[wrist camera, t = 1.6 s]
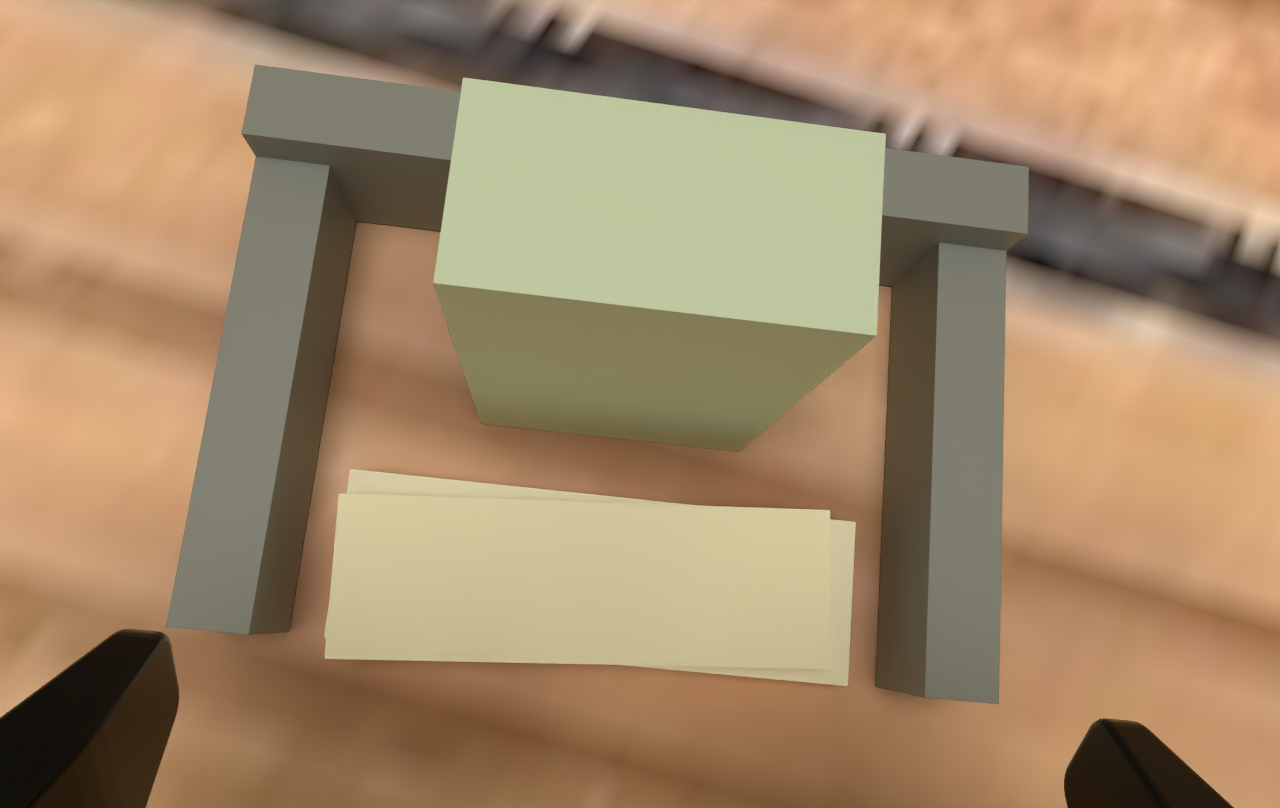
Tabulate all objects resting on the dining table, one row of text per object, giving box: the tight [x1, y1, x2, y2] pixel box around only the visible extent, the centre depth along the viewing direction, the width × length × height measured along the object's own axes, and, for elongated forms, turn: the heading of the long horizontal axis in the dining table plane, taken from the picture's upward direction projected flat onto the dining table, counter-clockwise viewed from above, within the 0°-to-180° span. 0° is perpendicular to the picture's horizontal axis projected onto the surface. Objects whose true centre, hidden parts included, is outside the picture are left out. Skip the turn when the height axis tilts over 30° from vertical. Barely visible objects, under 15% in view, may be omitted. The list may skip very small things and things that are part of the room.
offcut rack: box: [166, 65, 1029, 704], centre depth 21 cm, size 11×16×4 cm
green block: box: [433, 78, 886, 452], centre depth 19 cm, size 3×6×10 cm, turn 85°
